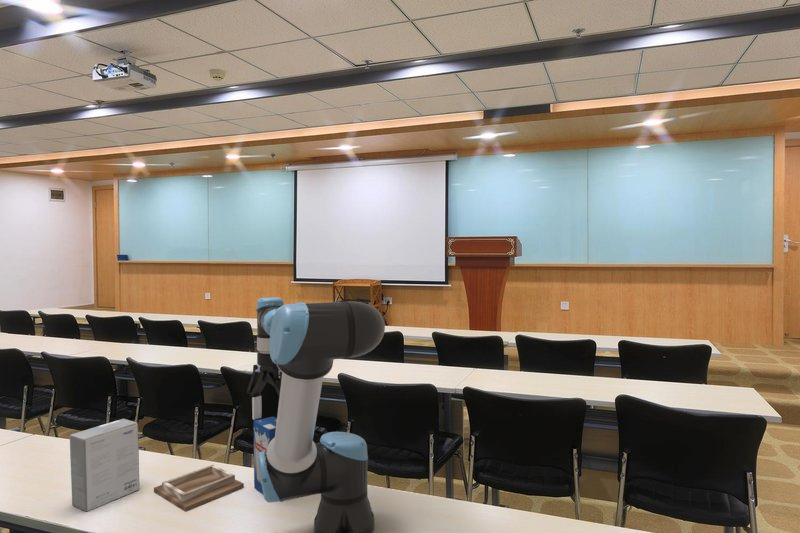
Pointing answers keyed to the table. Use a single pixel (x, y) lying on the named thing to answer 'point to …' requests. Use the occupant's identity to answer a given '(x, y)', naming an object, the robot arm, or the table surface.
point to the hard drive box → (104, 463)
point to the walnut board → (198, 487)
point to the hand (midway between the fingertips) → (271, 423)
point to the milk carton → (262, 444)
